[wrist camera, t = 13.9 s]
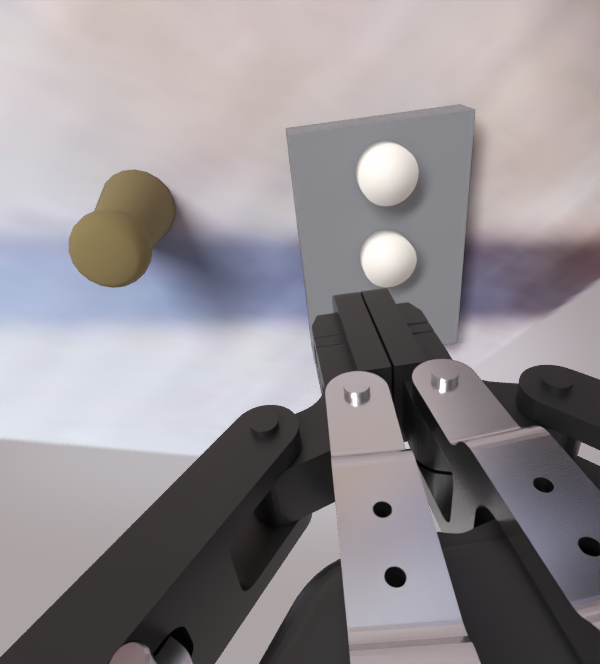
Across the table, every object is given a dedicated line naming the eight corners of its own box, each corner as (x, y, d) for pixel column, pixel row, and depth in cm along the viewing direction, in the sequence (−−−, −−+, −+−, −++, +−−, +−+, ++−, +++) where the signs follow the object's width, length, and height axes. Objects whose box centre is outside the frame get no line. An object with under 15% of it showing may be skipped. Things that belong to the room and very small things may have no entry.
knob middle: (351, 221, 42) (362, 241, 38) (400, 214, 42) (417, 234, 38) (354, 266, 44) (364, 290, 40) (400, 260, 44) (416, 283, 40)
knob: (346, 137, 38) (358, 150, 34) (400, 130, 38) (419, 141, 34) (349, 192, 41) (361, 210, 36) (400, 185, 41) (418, 202, 36)
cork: (190, 217, 41) (173, 271, 31) (135, 253, 42) (102, 316, 33) (142, 154, 38) (107, 194, 28) (84, 196, 39) (32, 246, 30)
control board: (285, 128, 37) (288, 135, 35) (460, 104, 38) (475, 109, 35) (311, 346, 49) (315, 363, 46) (445, 327, 49) (456, 342, 46)
